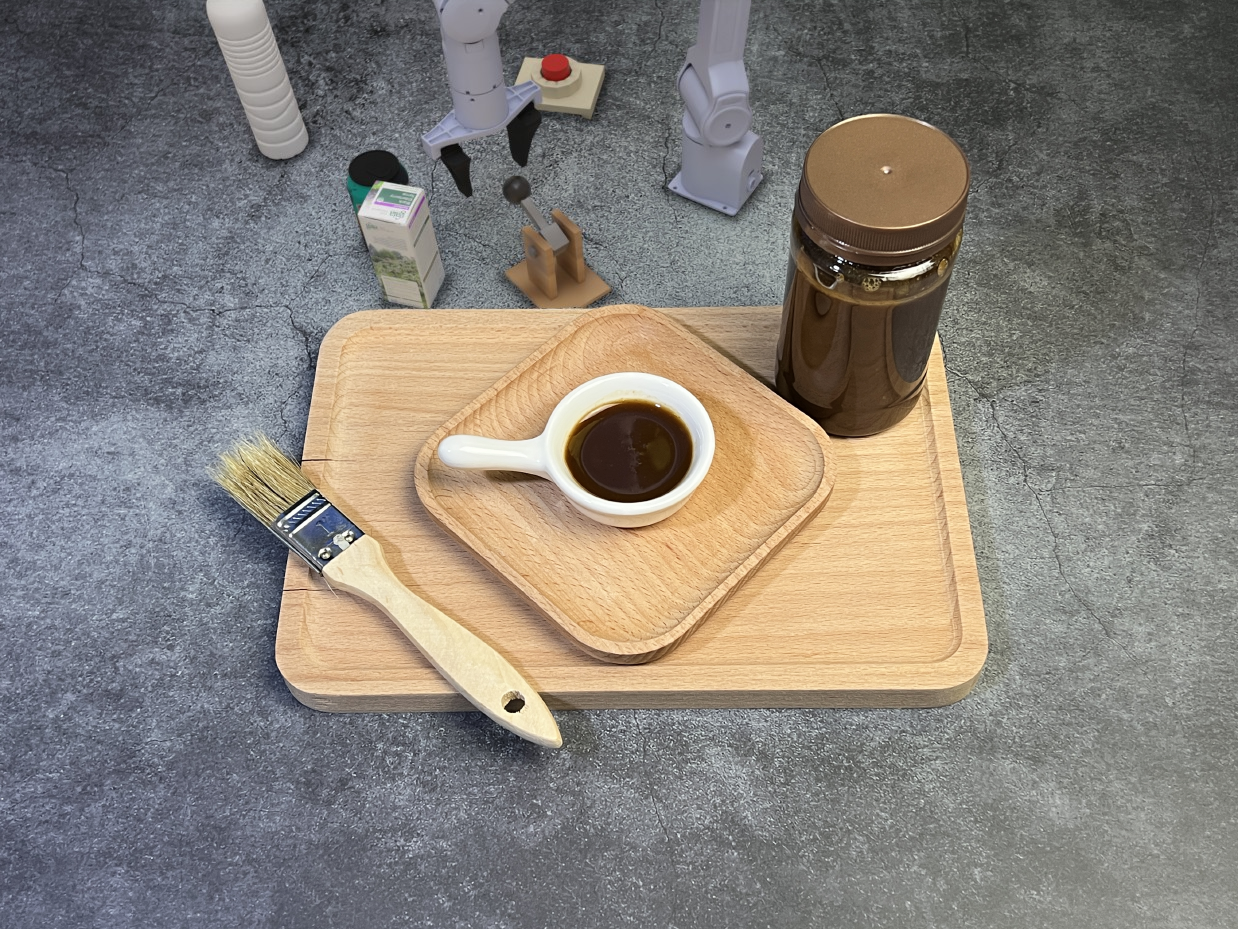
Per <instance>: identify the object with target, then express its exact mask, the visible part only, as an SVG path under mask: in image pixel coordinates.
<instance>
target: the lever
mask: <svg viewBox="0 0 1238 929" xmlns="http://www.w3.org/2000/svg"><path fill="white" fill-rule="evenodd" d="M501 190H502V195H503V198H504V199H505V200H506V201H507V203H509V204H511V205H513V206H520V207H521V209H522V210H523V211H524V213H525V214H526V216H527V217H528V219H529V220H530V221H531V222H532V224H533V226H534V227H535V228H536V230H537V231H538V234H539V235H540V236H541V237H542V238H543V239H545V240H546V241H547V242H548V243H549V244H550V245H551V246H552V249H553V257H556V256H557V255H559V254H561V253H562V252H564V251H566V249H567V247H568V244H569V240H568V239H567V237H566V236H565V235H564V233H563V232H562V230H561V229H560V228H559V226H558V225H557V223H556V222H554V223H552V222H551V223H550V224H549V223H548V222H547V220H546V219H545V217H544V215H543V214H542V213H541V212H540V210H539V209H538V207H537V206H536V205H535V203H534V202H533V199H531V198H530V197H531V196H532V195H531V194H532V186H531V183H530V182H529V181H528V179H527V178H526V177H525V176H524V177H523V176H522V175H516V174H515V175H511V176H509V177H508V178H507V179H505V181H504V182H503V185H502V189H501Z"/></svg>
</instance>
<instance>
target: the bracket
mask: <svg viewBox="0 0 1238 929" xmlns="http://www.w3.org/2000/svg"><path fill="white" fill-rule="evenodd" d="M550 216H551V224H552V223H554V222H556V223H557V225H558V226H559V228H560V229H561V230H562V232H563V233H564V235H565V236H566V237H567V239H568V240H569V244H568V247H567V249H566V251H564V252H562V253H561V254H559V255H557V256H556V257H553V249H552V246H551V245H550V244H549V243H548V242H547V241H546V240H545V239H543V238H542V237H541V236H540V235H539V232H537V231H536V230H535V229H534V228H533V227H532V226H531V225H530V224H528V225H525V226H524V227H522V228H521V234H522V241H523V247H524V254H525V255H524V256H525V259H524V260H522V261H520V262H519V263H516V264H515V265H513V266H512V267H510V268H508V269H507V270H505V271H504V276H505V278H507V279H508V280H509V281H510V282H511V283H512V284H513V285H514V286H516V288H517V289H518V290H520V291H521V293H522V294H523V295H524V296H525V297H526V298H528V300H529V301H531V303H533V305H534V306H536V307H537V308H538V309H539V308H569V307H581V308H583V309H585V308H586V307H588V306H589V305H591V304H592V303H594V302H596V301H597V300H599V299H601V298H602V297H604V296H605V295H607V294H608V293H610V292H612V289H611V288H612V287H610V286H609V285H608V284H607V283H606V282H605V281H604V280H603V279H602V278H601V277H600V276H599V275H598V274H596V273H595V271H594V270H592V269H591V268H590V267H589V266H588V265H587V264H586V263H585V259H584V258H585V257H584V256H585V255H584V245H583V234H582V228H580V227H579V226H578V225H577V224H576V223H575V222H573V221H572V220H571V219H570V218H569V217H568V216H567V215H566V214H565V213H564V212H563V211H561V210H560V208H556V209H554V210H551V211H550Z"/></svg>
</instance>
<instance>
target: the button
mask: <svg viewBox="0 0 1238 929" xmlns="http://www.w3.org/2000/svg"><path fill="white" fill-rule="evenodd" d="M565 56H566V55H564V54H561V53H552V54H548V55H546V56H545V57H543V58H544V59H543V60H542V63H541V65H542V74H543V77H544V79H546V80H548V81H554V82H558V81H562V80H565V79H566V78H568V77H569V74H570V69H569V60H568V58H567V57H568V56H567V57H565Z"/></svg>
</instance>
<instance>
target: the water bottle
mask: <svg viewBox="0 0 1238 929" xmlns="http://www.w3.org/2000/svg"><path fill="white" fill-rule="evenodd" d="M205 7H206V14H207V18H208V20H209V23H210V25H211V28H212V30H213V32H214V35H215V37H216V40H217V43H218V45H219V49H220V50H221V53H222V55H223V58H224V61H225V63H226V66H227V68H228V72H229V74H230V77H231V80H232V82H233V84H234V87H235V90H236V93H237V95H238V97H239V100H240V103H241V105H242V107H243V108H244V109H243V110H244V113H245V116H246V118H247V120H248V122H249V126H250V128H251V131H252V133H253V136H254V139H255V142H256V145H257V147H258V149H259V152H260V153H261V154H262V155H264V157H267V158H268V159H271V160H281V159H282V160H288V159H291V158H294V157H295V156H296V155H299V154H301V153H303V151H304V150H305V149H306V147H307V146H308V143H309V134H308V131H307V127H306V125H305V122H304V119H303V116H302V113H301V111H300V109H299V105H298V101H297V99H296V97H295V92H294V89H293V87H292V84H291V82H290V78H289V75H288V73H287V69H286V66H285V63H284V60H283V57H282V55H281V52H280V49H279V46H278V43H277V41H276V37H275V34H274V31H273V28H272V25H271V23H270V19H269V17H268V13H267V8H266V6H265V4H264V1H263V0H206V5H205Z"/></svg>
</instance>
